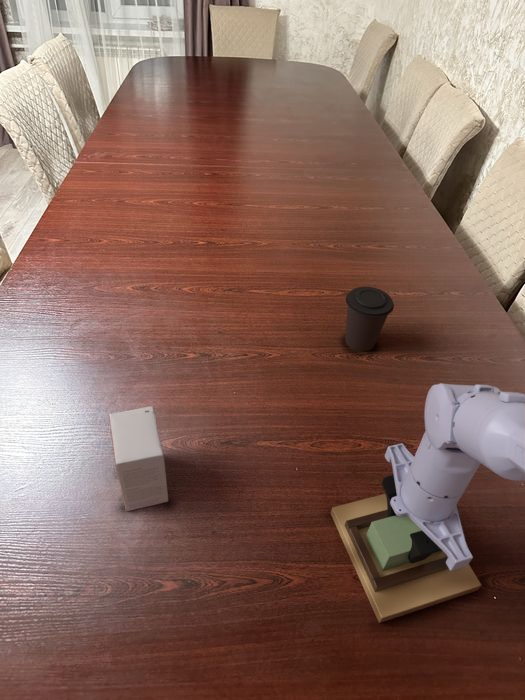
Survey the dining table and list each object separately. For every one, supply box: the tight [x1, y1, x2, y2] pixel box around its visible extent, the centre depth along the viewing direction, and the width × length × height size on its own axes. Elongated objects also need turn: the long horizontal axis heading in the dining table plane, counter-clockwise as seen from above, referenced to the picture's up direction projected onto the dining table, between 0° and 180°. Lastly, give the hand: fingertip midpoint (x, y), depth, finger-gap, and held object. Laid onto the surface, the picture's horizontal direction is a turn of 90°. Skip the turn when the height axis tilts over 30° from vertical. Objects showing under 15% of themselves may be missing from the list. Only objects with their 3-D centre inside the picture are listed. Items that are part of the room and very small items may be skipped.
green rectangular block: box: [366, 515, 443, 571], centre depth 62 cm, size 4×8×4 cm, turn 108°
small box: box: [108, 405, 169, 512], centre depth 66 cm, size 8×6×10 cm
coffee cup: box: [344, 286, 395, 352], centre depth 90 cm, size 8×8×10 cm
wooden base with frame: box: [330, 493, 482, 624], centre depth 64 cm, size 14×13×3 cm
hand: (406, 538), depth 63 cm, fingers closed on green rectangular block, 4 cm apart
